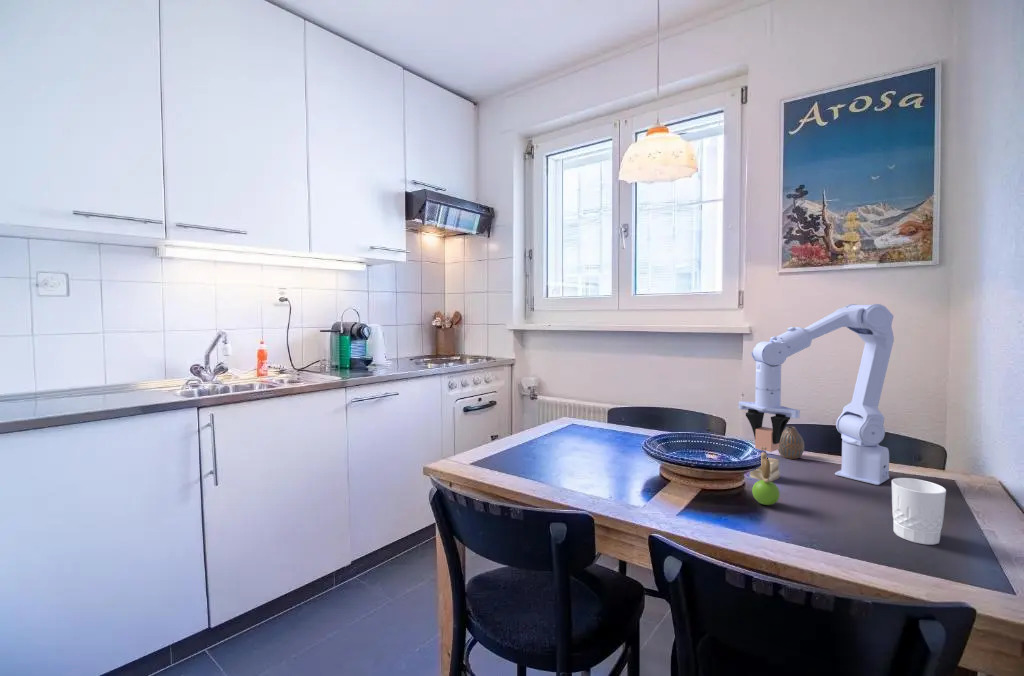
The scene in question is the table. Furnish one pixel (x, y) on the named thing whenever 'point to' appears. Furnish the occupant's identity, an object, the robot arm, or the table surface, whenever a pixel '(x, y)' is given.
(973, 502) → the table surface
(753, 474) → the tower base
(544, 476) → the table surface
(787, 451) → the vase
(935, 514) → the white cup
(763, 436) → the block
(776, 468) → the tower top
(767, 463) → the snail figurine
